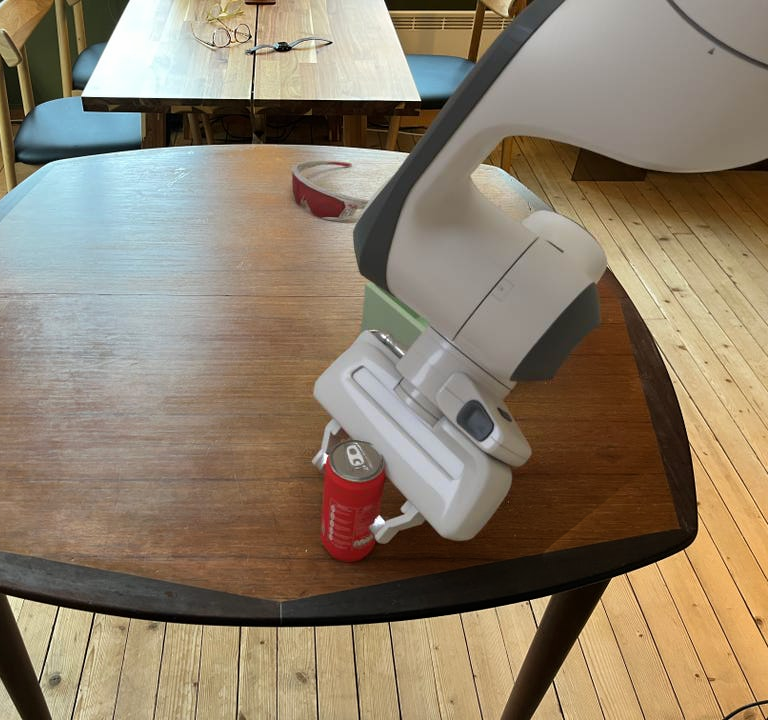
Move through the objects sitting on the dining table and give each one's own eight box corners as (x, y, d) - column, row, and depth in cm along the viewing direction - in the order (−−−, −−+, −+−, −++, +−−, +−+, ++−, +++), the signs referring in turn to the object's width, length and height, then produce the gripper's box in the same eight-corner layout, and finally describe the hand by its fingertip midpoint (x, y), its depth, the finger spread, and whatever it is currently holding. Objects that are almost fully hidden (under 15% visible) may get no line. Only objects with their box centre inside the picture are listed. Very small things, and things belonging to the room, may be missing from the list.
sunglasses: (268, 189, 121) (272, 160, 118) (343, 178, 131) (349, 150, 128) (335, 234, 111) (342, 203, 108) (412, 218, 121) (420, 189, 118)
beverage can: (328, 571, 68) (335, 488, 60) (314, 525, 71) (319, 442, 64) (382, 560, 69) (395, 477, 61) (364, 515, 72) (375, 432, 64)
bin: (539, 369, 89) (558, 311, 83) (441, 416, 83) (453, 358, 77) (453, 302, 99) (464, 246, 93) (359, 340, 93) (365, 283, 87)
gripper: (357, 307, 67) (265, 421, 70) (519, 451, 54) (400, 585, 57) (390, 329, 72) (304, 435, 74) (547, 467, 59) (436, 590, 61)
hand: (346, 502), depth 65 cm, fingers open, 7 cm apart
